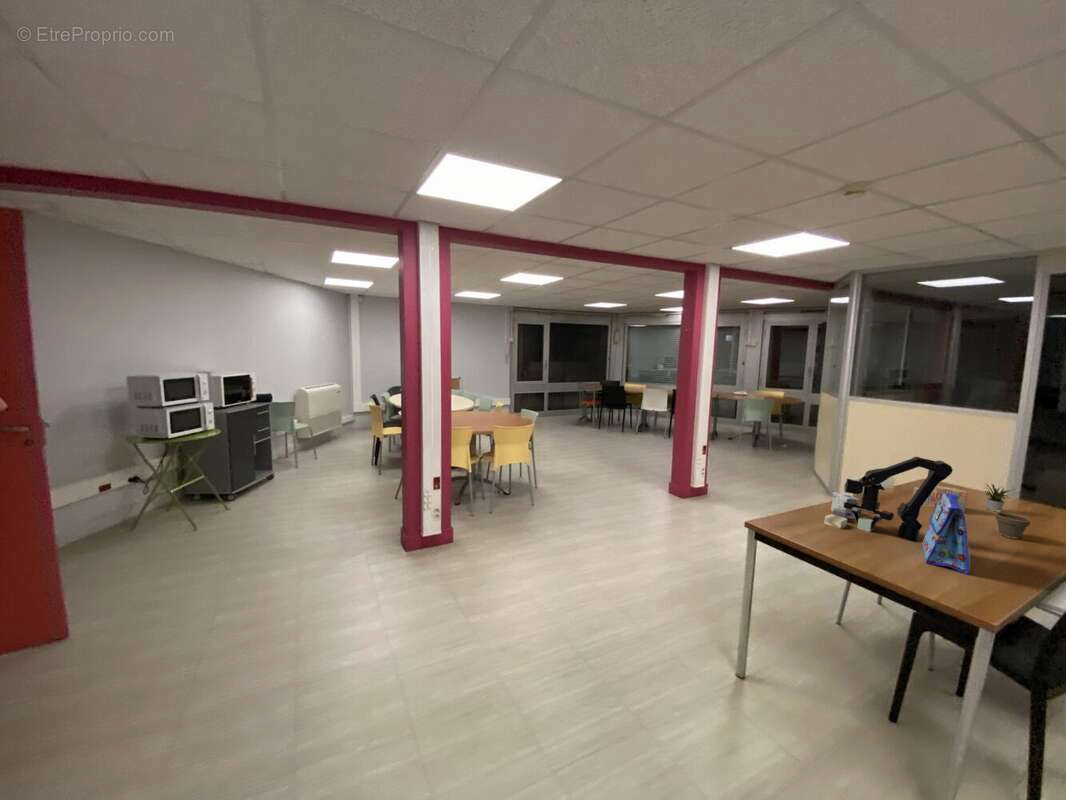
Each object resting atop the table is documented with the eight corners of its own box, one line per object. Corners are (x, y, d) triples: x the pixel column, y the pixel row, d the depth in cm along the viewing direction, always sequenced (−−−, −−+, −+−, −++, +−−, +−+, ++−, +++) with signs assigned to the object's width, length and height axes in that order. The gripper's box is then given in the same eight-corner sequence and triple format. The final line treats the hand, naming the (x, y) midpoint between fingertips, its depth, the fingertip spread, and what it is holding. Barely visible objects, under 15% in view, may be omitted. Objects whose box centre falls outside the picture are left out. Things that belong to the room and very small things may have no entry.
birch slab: (846, 526, 211) (847, 519, 210) (839, 529, 207) (841, 521, 206) (830, 521, 216) (831, 513, 216) (824, 523, 213) (825, 516, 212)
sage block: (872, 529, 208) (874, 520, 207) (869, 532, 205) (871, 522, 204) (860, 525, 212) (862, 516, 211) (857, 528, 209) (858, 518, 208)
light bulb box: (857, 519, 220) (860, 499, 219) (843, 518, 220) (847, 498, 219) (842, 511, 231) (845, 492, 230) (830, 510, 231) (832, 491, 230)
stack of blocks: (913, 504, 248) (917, 484, 247) (911, 501, 253) (914, 481, 252) (963, 513, 237) (968, 492, 235) (960, 510, 242) (964, 489, 240)
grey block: (844, 519, 219) (845, 510, 219) (843, 522, 216) (845, 512, 215) (832, 516, 223) (834, 507, 222) (831, 519, 219) (833, 510, 218)
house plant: (966, 505, 250) (972, 479, 248) (981, 504, 254) (986, 478, 252) (999, 515, 237) (1004, 487, 234) (1014, 513, 241) (1020, 486, 239)
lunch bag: (920, 545, 192) (931, 484, 188) (962, 556, 184) (975, 492, 180) (924, 563, 176) (936, 496, 172) (970, 576, 167) (984, 506, 163)
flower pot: (987, 529, 216) (991, 510, 215) (1019, 535, 210) (1024, 515, 209) (997, 537, 206) (1001, 517, 205) (1031, 544, 200) (1035, 523, 199)
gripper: (899, 499, 203) (894, 530, 205) (853, 488, 218) (848, 516, 220) (892, 504, 197) (887, 535, 199) (845, 491, 212) (840, 521, 214)
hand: (865, 526), depth 208 cm, fingers closed on sage block, 5 cm apart
